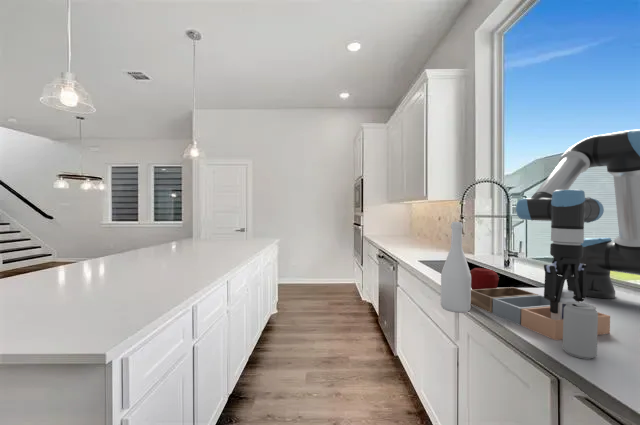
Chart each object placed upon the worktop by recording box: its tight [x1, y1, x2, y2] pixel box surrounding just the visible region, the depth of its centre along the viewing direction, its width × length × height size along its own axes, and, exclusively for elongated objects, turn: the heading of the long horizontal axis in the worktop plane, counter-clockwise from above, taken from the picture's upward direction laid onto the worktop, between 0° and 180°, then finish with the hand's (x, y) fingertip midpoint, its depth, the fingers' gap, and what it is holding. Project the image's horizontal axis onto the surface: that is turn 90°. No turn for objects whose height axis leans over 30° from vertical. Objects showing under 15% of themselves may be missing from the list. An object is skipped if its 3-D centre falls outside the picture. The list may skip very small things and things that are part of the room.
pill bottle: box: [560, 288, 576, 319], centre depth 92 cm, size 5×5×10 cm
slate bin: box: [492, 294, 550, 326], centre depth 103 cm, size 20×11×5 cm, turn 105°
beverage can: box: [562, 301, 598, 360], centre depth 77 cm, size 6×6×12 cm
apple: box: [470, 266, 500, 290], centre depth 127 cm, size 11×11×12 cm
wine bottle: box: [440, 221, 472, 314], centre depth 110 cm, size 10×10×30 cm
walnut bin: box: [471, 286, 539, 314], centre depth 114 cm, size 20×11×5 cm, turn 105°
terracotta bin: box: [520, 306, 611, 341], centre depth 92 cm, size 20×11×5 cm, turn 105°
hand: (564, 323), depth 92 cm, fingers closed on pill bottle, 5 cm apart
